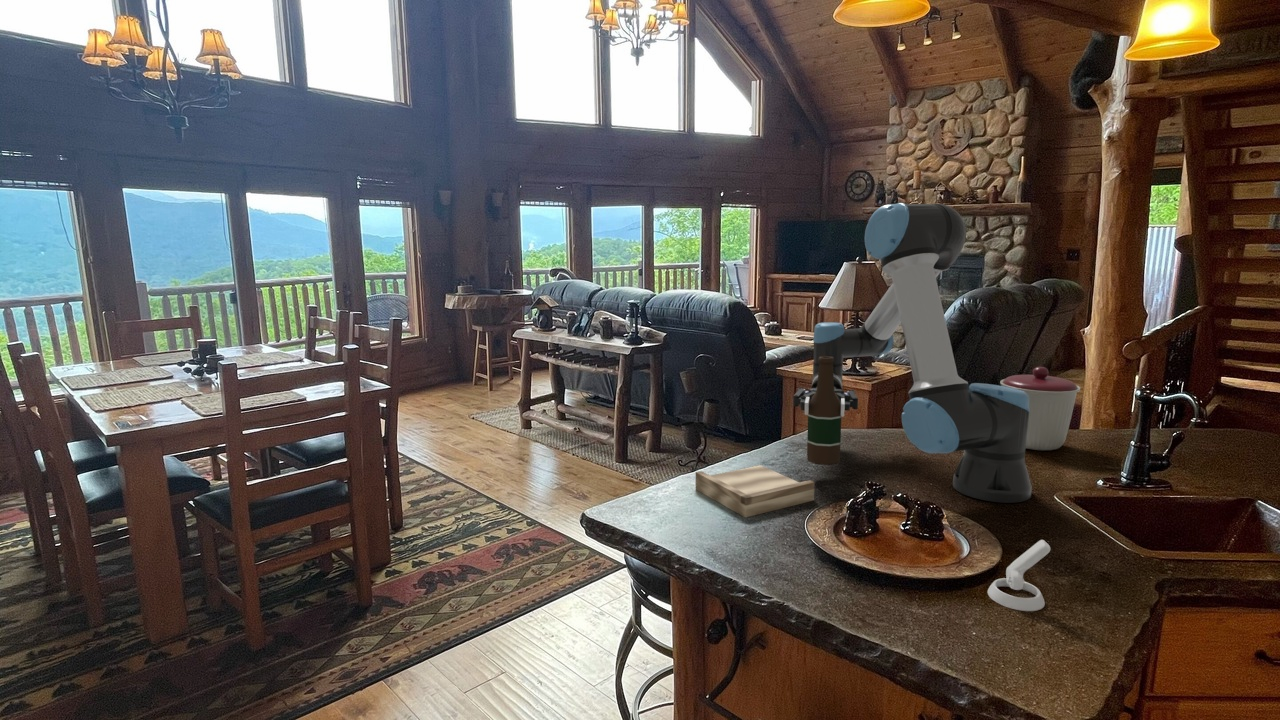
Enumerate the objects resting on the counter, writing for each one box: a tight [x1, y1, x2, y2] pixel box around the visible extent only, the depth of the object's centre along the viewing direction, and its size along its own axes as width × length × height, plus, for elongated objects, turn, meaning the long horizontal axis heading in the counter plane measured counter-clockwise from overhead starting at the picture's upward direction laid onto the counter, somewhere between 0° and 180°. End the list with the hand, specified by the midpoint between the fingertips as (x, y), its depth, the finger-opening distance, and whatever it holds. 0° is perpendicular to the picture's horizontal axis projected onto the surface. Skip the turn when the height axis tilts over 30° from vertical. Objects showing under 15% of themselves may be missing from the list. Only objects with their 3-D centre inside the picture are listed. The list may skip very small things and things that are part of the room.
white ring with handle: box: [987, 539, 1051, 612], centre depth 102 cm, size 8×12×7 cm
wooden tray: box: [695, 464, 815, 518], centre depth 146 cm, size 18×18×4 cm
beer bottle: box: [806, 356, 842, 466], centre depth 153 cm, size 8×8×24 cm
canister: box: [999, 366, 1081, 451], centre depth 177 cm, size 18×18×21 cm
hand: (824, 409), depth 148 cm, fingers closed on beer bottle, 7 cm apart
